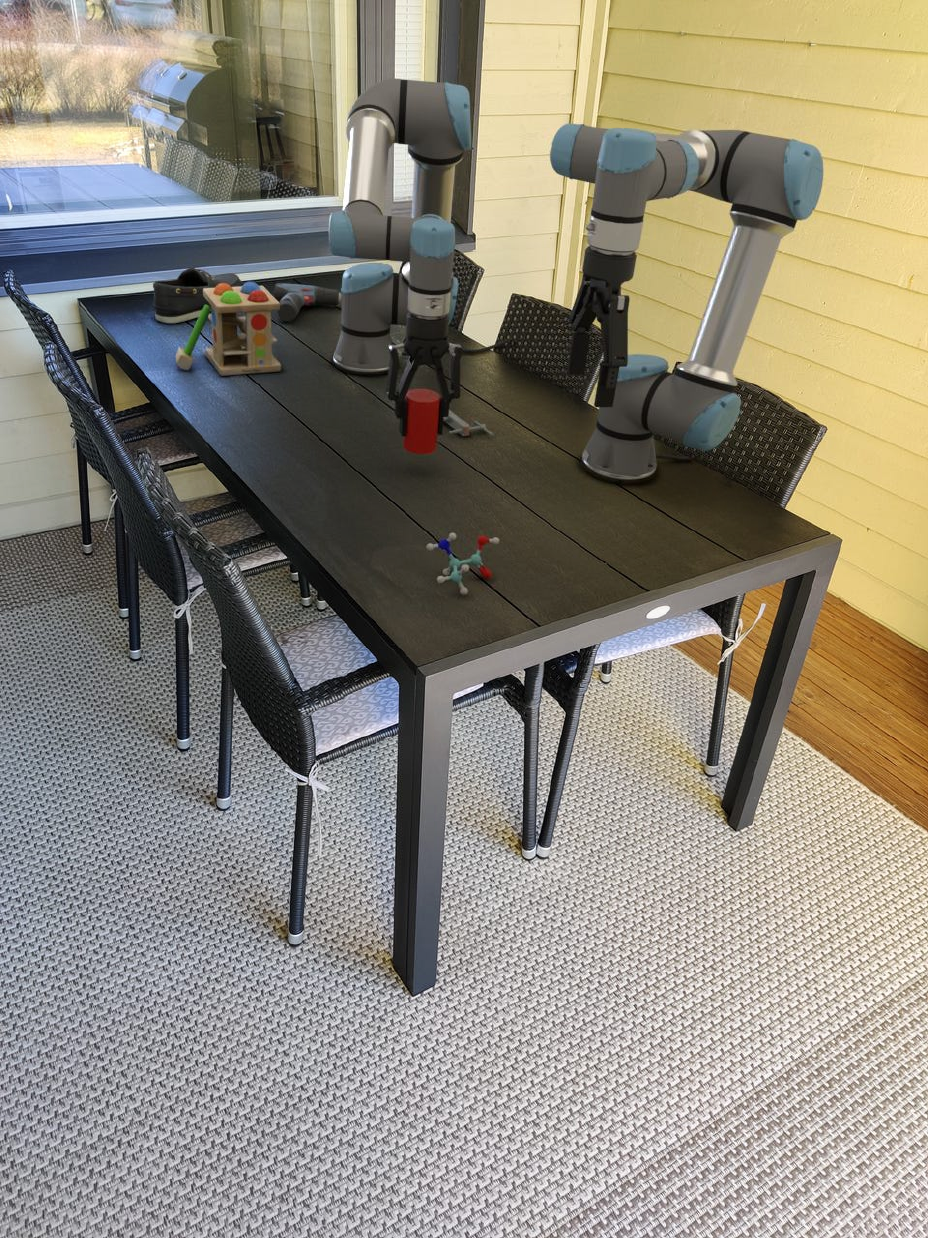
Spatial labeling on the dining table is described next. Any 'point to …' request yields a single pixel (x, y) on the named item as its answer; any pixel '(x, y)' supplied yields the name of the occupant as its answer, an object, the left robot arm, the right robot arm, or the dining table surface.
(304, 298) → the power drill
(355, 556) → the dining table surface
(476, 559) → the molecular model
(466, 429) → the clamp
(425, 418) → the red cylinder
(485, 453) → the dining table surface
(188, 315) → the boat shoe
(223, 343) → the pounding bench toy
